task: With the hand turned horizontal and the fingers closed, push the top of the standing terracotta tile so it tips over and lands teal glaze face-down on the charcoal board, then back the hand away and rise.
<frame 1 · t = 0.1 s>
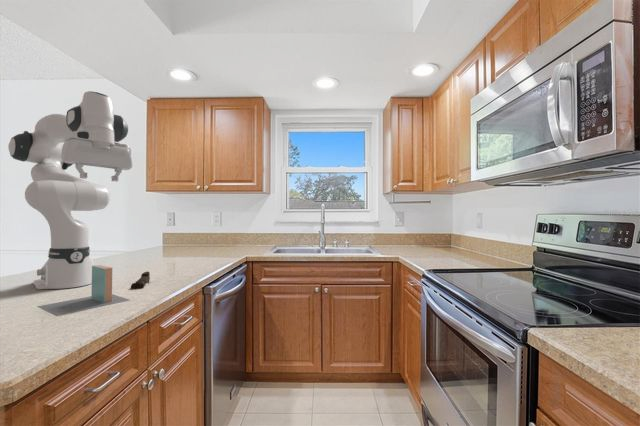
hand: (99, 179, 107), 39 cm above the countertop, tool pointing down, fingers open, 8 cm apart
hand tool: (141, 288, 118), on the countertop
board: (85, 308, 92), on the countertop
tile: (101, 299, 95), point 1 cm above the countertop, touching board
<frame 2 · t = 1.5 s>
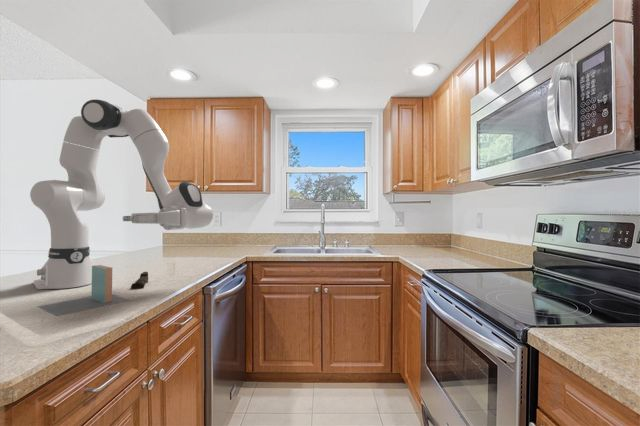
hand: (131, 218, 101), 26 cm above the countertop, tool horizontal, fingers open, 8 cm apart
nothing on the countertop moved.
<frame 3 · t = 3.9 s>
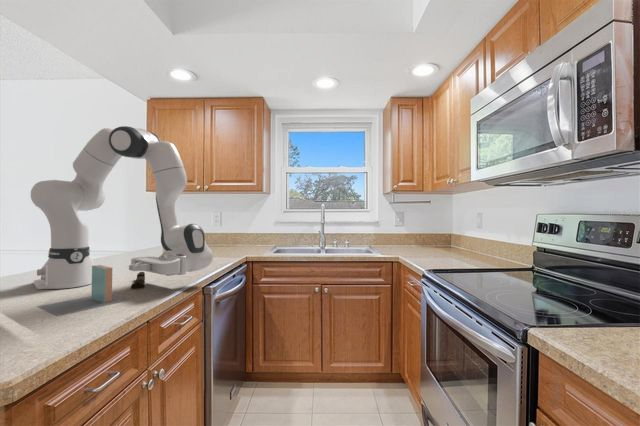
hand: (131, 268, 101), 10 cm above the countertop, tool horizontal, fingers closed
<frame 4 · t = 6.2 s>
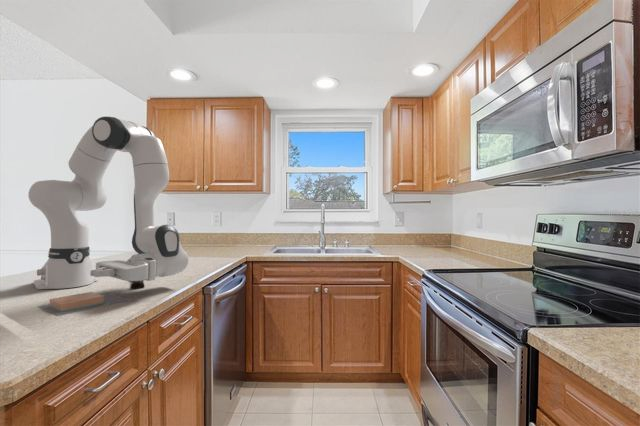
hand: (92, 273, 92), 10 cm above the countertop, tool horizontal, fingers closed
tile: (97, 297, 94), point 2 cm above the countertop, tilted 90°, touching board
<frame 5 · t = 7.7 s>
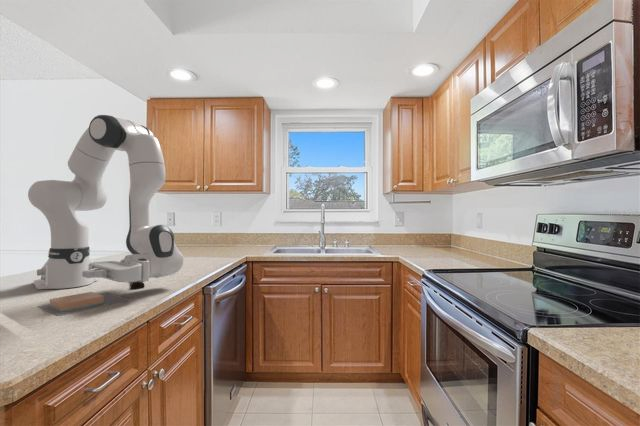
hand: (84, 274, 91), 10 cm above the countertop, tool horizontal, fingers closed
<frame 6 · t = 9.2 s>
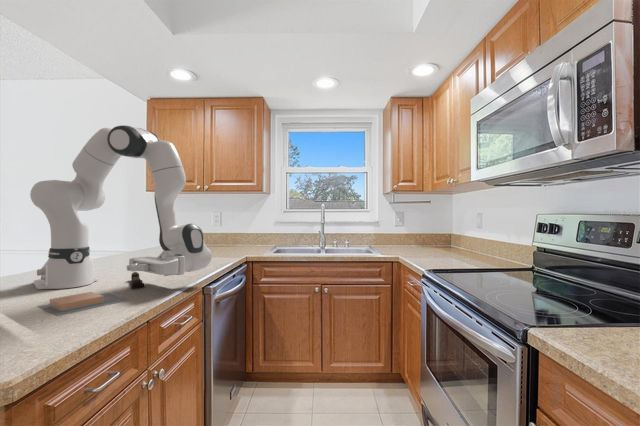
hand: (129, 268, 101), 10 cm above the countertop, tool horizontal, fingers closed
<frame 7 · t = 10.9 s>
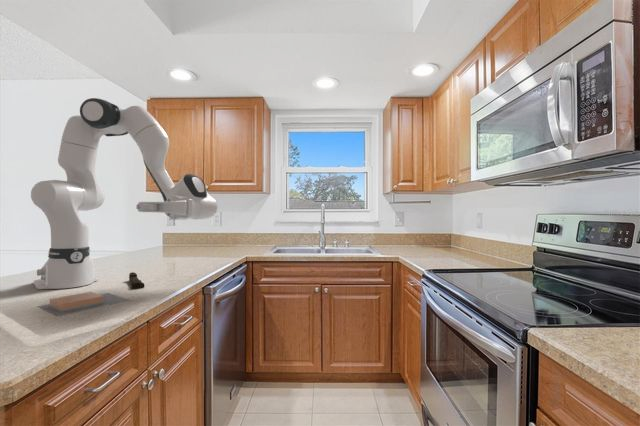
hand: (138, 206, 103), 30 cm above the countertop, tool horizontal, fingers closed
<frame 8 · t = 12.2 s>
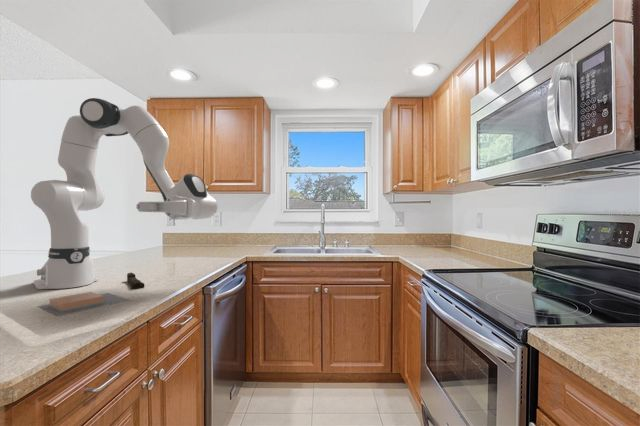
hand: (138, 206, 103), 30 cm above the countertop, tool horizontal, fingers closed
at the end: tile tilted 90°; tile inside the target area on the board (4.7 cm from its centre), point 2.5 cm above the board's base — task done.
